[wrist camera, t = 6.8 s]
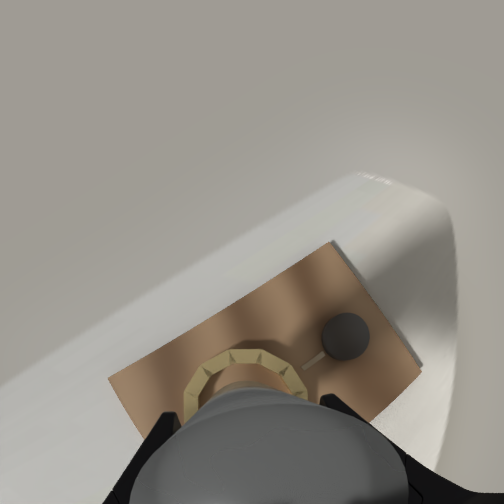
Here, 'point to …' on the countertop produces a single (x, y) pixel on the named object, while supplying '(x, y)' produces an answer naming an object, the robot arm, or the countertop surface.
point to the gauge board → (282, 345)
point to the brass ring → (239, 357)
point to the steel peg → (271, 455)
